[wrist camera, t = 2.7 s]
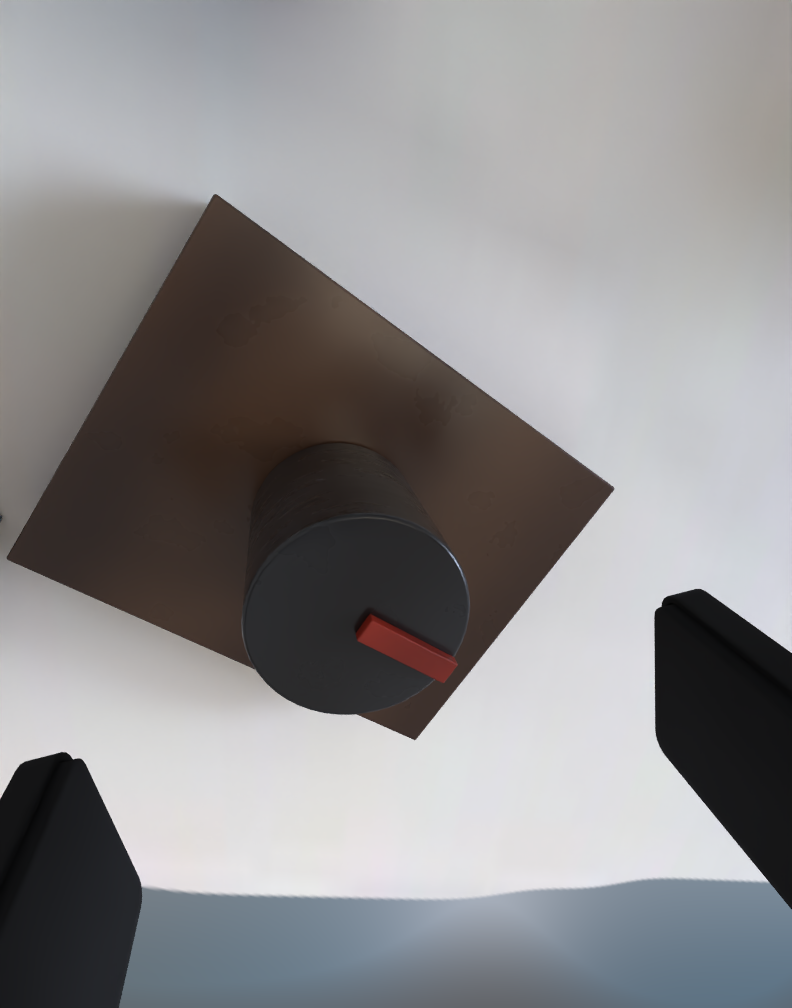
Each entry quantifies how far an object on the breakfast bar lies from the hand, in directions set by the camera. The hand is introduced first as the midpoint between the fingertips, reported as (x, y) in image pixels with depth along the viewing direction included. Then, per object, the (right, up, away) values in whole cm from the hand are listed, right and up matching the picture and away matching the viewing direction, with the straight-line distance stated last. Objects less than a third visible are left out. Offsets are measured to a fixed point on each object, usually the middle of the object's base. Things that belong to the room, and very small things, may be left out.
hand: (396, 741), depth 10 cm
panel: (-2, +4, +11) cm, 12 cm away
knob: (-2, +3, +8) cm, 9 cm away
